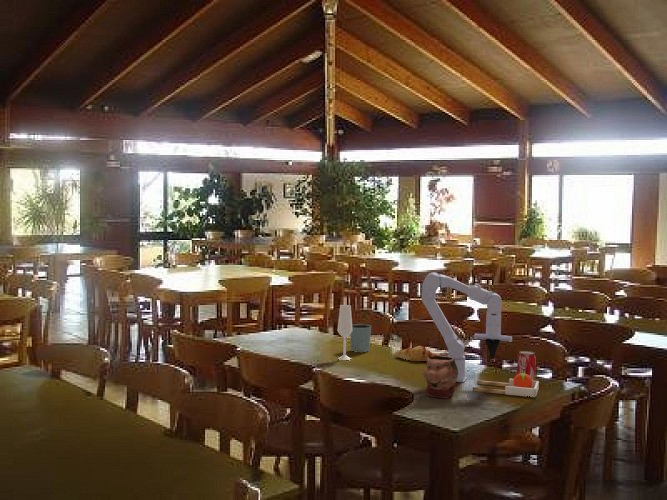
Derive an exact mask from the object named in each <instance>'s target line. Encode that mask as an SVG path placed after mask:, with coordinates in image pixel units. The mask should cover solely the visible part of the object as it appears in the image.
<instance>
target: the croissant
mask: <svg viewBox="0 0 667 500" xmlns="http://www.w3.org/2000/svg"><path fill="white" fill-rule="evenodd" d="M395 356H396V357H398V358H400V359H402V360H405V359H406V360H405V361H408V360H410V361H409V362H415V361H426V362H425V363H427V358H428V357H429V356H441V355H440V354H437V353H435V352H431V349H430V350H429V349H427V348H426V347H425V346H422V345H419V346H415V347H408V348H406V349H401V350H399V351H396V352H395Z"/></svg>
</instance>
